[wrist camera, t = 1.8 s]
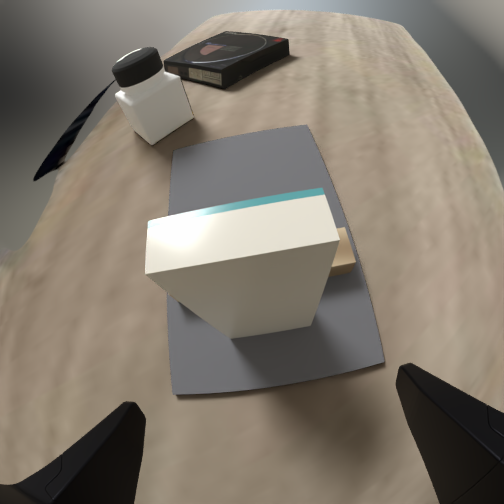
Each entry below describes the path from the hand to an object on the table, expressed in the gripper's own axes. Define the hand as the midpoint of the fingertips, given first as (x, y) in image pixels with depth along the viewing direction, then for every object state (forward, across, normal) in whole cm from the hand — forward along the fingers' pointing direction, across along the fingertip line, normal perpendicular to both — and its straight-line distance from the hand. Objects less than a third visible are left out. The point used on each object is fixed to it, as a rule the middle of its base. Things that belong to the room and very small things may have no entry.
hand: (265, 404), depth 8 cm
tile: (+7, 0, 0) cm, 7 cm away
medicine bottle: (+32, +10, -16) cm, 38 cm away
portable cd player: (+45, 0, -27) cm, 53 cm away
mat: (+18, 0, -1) cm, 18 cm away
